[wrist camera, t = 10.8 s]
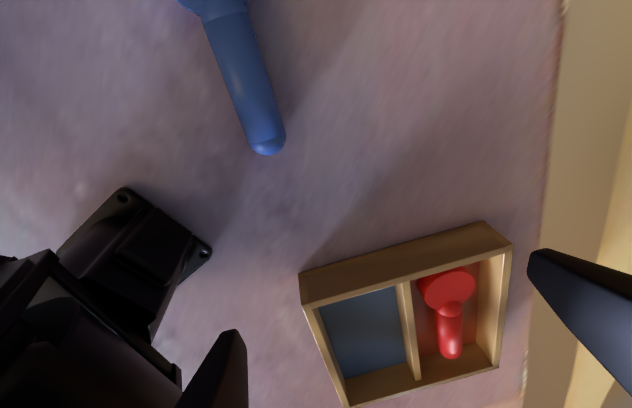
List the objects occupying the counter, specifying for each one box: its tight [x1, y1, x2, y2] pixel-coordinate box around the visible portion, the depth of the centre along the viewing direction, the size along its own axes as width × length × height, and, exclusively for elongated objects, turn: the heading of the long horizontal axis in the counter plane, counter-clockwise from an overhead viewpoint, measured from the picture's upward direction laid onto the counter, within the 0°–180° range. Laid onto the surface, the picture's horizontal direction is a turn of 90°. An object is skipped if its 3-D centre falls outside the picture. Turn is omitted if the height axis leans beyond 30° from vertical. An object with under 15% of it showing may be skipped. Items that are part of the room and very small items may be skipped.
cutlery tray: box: [298, 220, 514, 408], centre depth 22 cm, size 14×14×3 cm
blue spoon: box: [176, 0, 286, 155], centre depth 12 cm, size 10×4×2 cm, turn 14°
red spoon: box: [417, 266, 475, 359], centre depth 22 cm, size 10×4×2 cm, turn 14°
